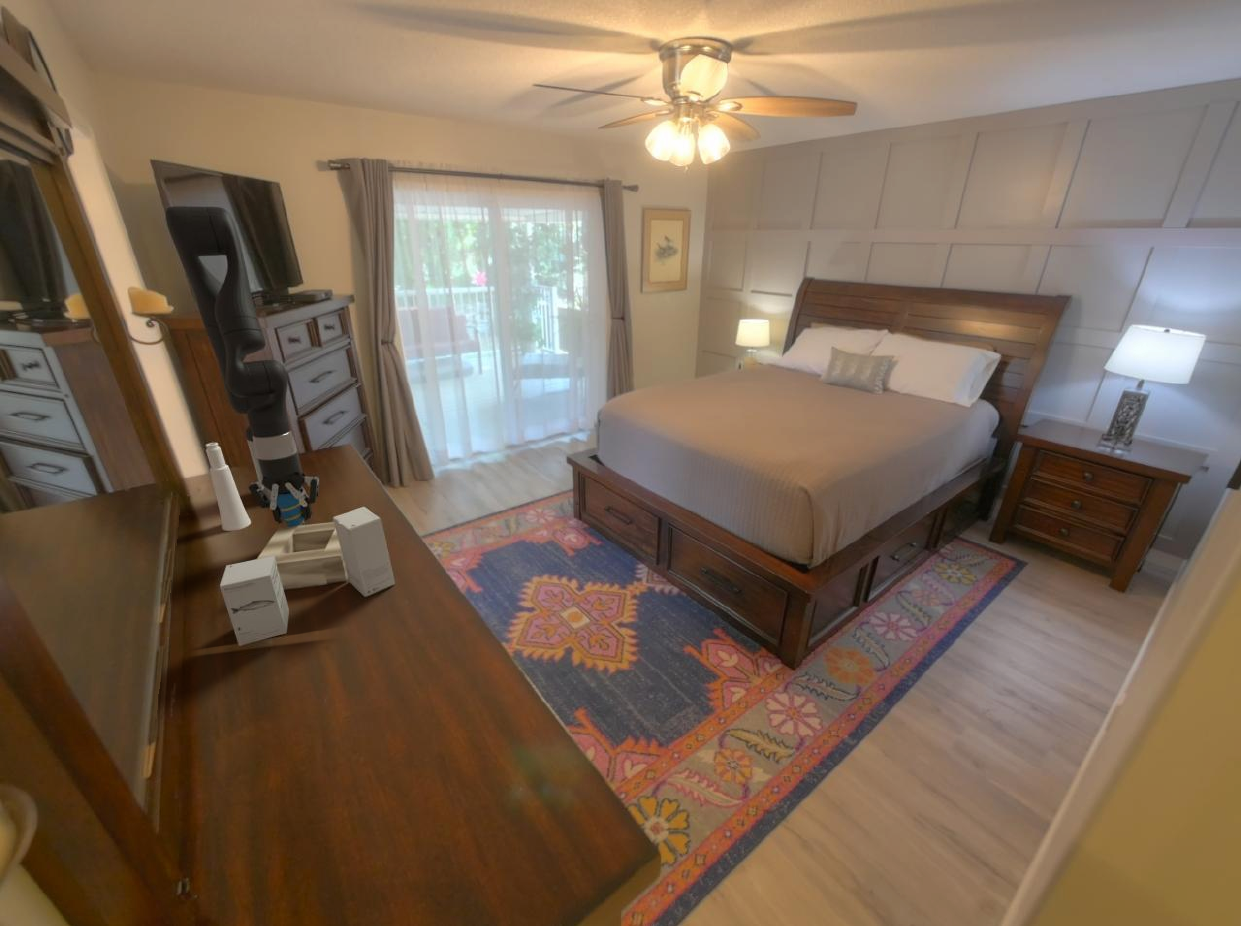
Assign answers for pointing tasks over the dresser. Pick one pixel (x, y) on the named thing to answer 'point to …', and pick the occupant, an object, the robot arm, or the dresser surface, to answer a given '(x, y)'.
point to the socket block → (307, 555)
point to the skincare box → (364, 550)
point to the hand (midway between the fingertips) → (294, 520)
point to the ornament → (290, 509)
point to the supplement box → (255, 599)
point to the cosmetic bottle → (226, 491)
